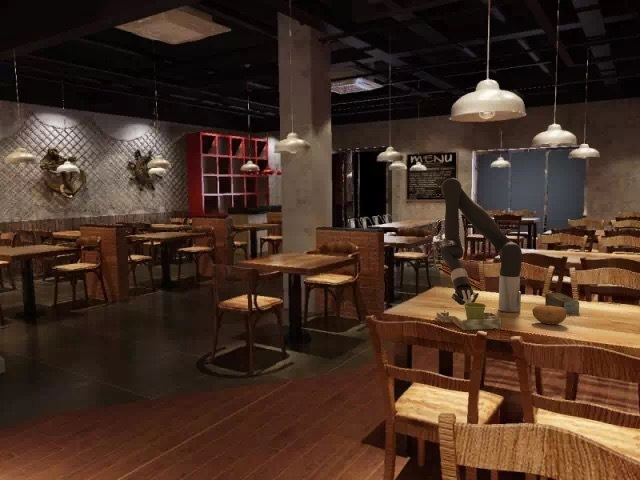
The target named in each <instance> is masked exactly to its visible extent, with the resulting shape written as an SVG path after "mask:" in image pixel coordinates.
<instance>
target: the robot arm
mask: <svg viewBox="0 0 640 480" xmlns="http://www.w3.org/2000/svg"><path fill="white" fill-rule="evenodd" d="M440 191H441V193H442V194H443V196H444V203H445V215H444V239H445V240H446V241H450V242H451V241H452V242H453V244H451V245H449V244H448V245H443V246H442V247H441V250H440V255H441V257H442V260H443V261H444V262H445V264H446V265H447V266H448V268H449V272H450V273H449V274H450V277H451V282H452V284H453V288H454V293H452V295H451V299H453V300H454V302H456V303H457V304H458V305H460V306H464V304H465V303H476V300H477V298H478V297H479V295H480V293H479V292H474V289H472V288H473V287H472V285H471V282H470V279H469V276H468V273H467V271H466V267H465V265H464V262H463V261H462V258H463V257H464V247H463V244H462V241H461V237H460V215H459V213H460V212H461V214H462V215H463V216H464V217H465V219H466V220H467V221H468V222H469V223H470V224H471V226H472V227H473V228H474V229H475V230H476V231H477V232H478V233H479V234H481V236H483V237H484V238H485V239H486V240H487V241H488V242H489V243H491V245H492V246H493V248H494V249H495V250H496V251H497V252H498V254H499V256H500V257H501V258H500V262H501V263H500V269H499V285H498V291H499V292H498V310H499V311H501V312H504V313H517V312H521V304H522V303H521V302H522V301H521V300H522V291H520V285H521V283H520V281H521V271H522V263H523V262H522V261H523V259H522V258H523V252H522V249H521V247H520V246H519V245H518V244H517V243H515V242H513V240H511V239H510V237H509V238H508V236H507V235H506V234H504V233H503V232H502V231H501V229H500V227H499V226H498V224H497V223H496V221H495V219H493V218H492V216H491V215H490V214H489V213H488V212H487V211H486V210H485V208H483V207H482V206H481V205H479V204H478V203H477V202H476V201H474V200H473V199H472V198H471V197H470V196H469V195H468V194H467V193H466V192H465V191H464V189H463V188H462V184H461V181H459V180H458V179H457V178H455V177H451V178H447V179H445V180H444V181H443V182H442V183H441V186H440ZM459 211H460V212H459ZM472 298H473V299H472Z"/></svg>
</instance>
